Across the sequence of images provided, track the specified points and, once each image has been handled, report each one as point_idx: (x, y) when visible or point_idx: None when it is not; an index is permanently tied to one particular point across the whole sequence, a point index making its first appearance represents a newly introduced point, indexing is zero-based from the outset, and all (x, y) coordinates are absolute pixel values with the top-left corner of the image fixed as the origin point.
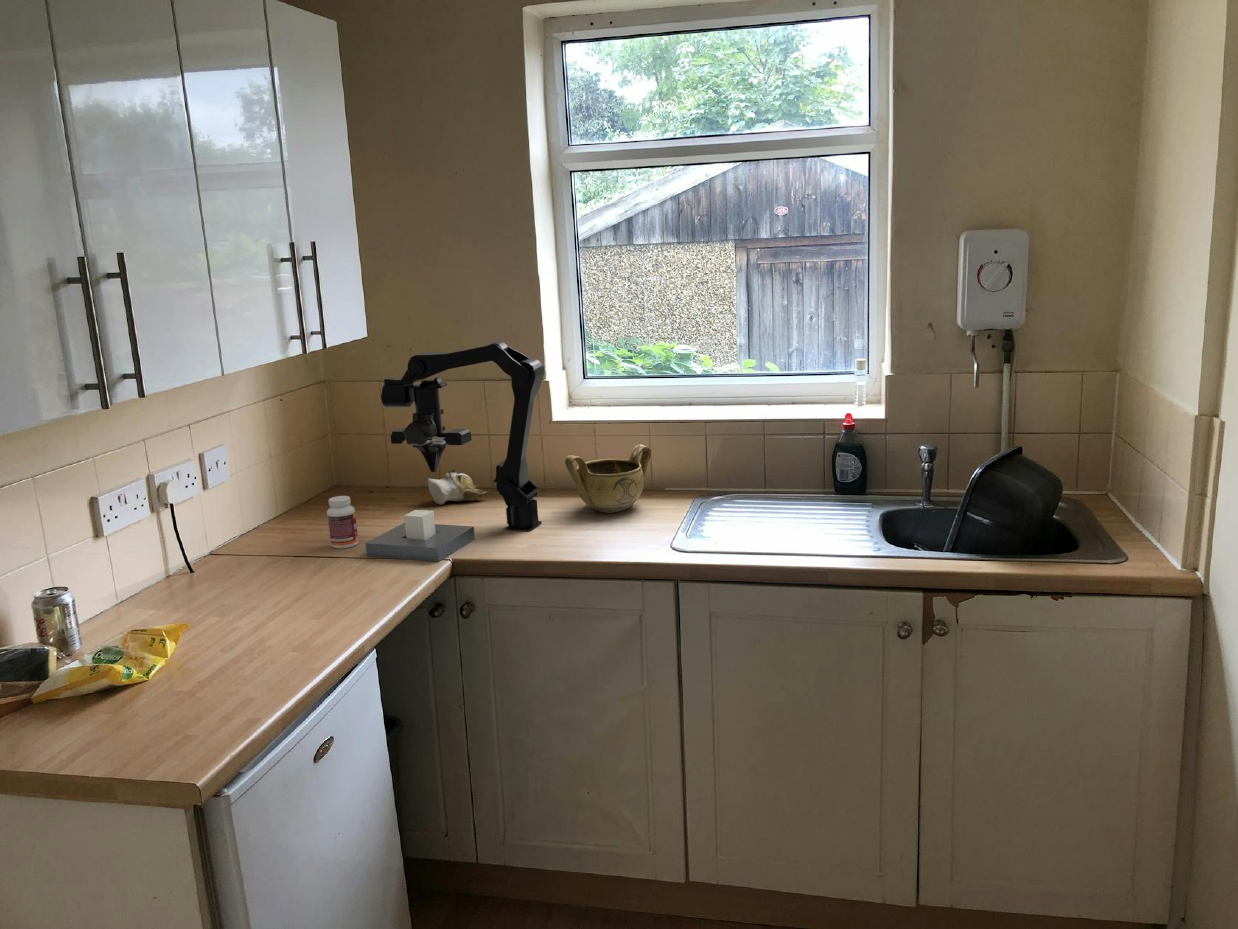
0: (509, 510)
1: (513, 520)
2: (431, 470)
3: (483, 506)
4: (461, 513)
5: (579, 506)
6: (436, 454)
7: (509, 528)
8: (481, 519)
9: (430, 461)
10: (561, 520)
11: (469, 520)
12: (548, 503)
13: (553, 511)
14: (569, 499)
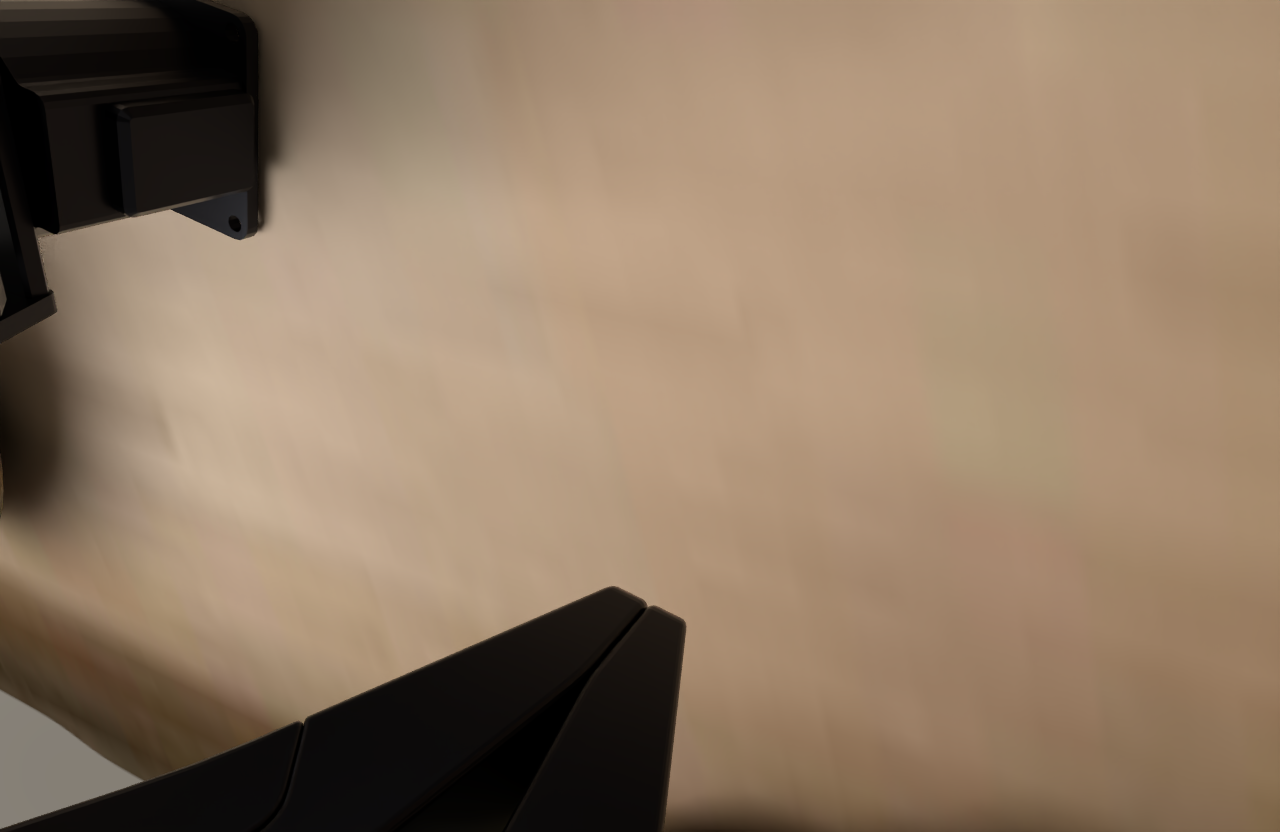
0: (102, 79)
1: (138, 26)
2: (656, 629)
3: None
4: (737, 596)
5: (92, 499)
6: (63, 827)
7: (218, 7)
8: (532, 378)
9: (524, 797)
10: None
11: (621, 373)
12: (252, 614)
13: (166, 442)
14: (186, 645)
